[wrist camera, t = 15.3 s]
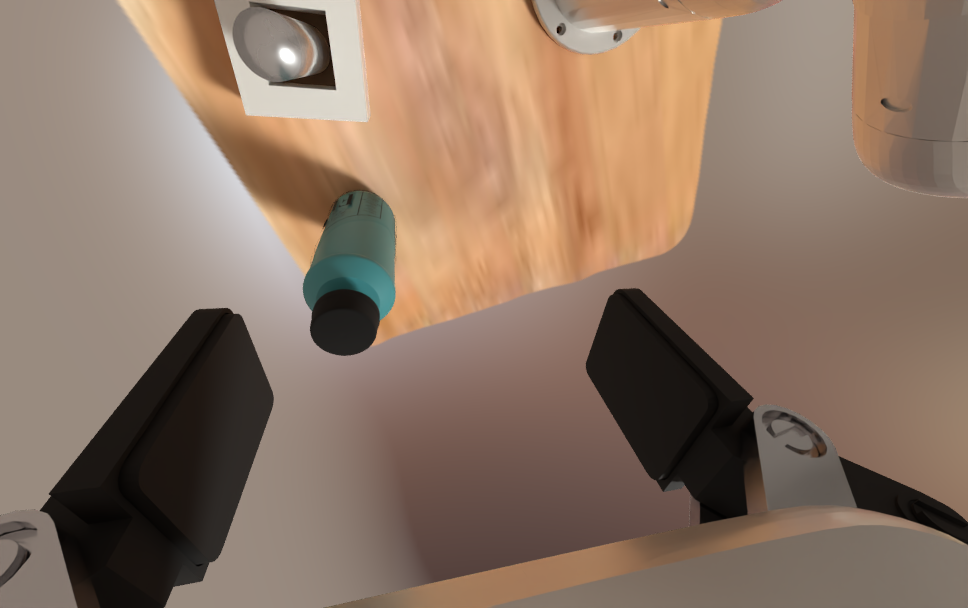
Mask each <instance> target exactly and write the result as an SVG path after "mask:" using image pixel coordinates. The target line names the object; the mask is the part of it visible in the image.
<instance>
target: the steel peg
mask: <svg viewBox="0 0 968 608" xmlns="http://www.w3.org/2000/svg"><path fill="white" fill-rule="evenodd" d="M232 34H233V41H234V45H235V48H236V50H237V52H238V54H239V56H240V58H241V59H242V61H243V62H244V63H245V65H246V66H247V67H248V68H249V69H250V70H251V71H252V72H254V73H255V74H256V75H258V76H259V77H261V78H263V79H266V80H268V81H272V82H284V81H288V80H293V79H297V78H301V77H306V76H310V75H315V74H319V73H321V72H323V71H324V70H325V69H326V68H327V67H328V65H329V62H330V49H329V45H328V43H327V41H326V39H325V37H324V36H323V35H322V33H321V32H320V31H319V30H318V29H316V28H315V27H314V26H312V25H310V24H307V23H304V22H302V21H299V20H296V19H293V18H290V17H288V16H285V15H282V14H279V13H277V12H274V11H271V10H268V9H265V8H261V7H250V8H247V9H245V10H243V11H241V12H240V13H239V14H238V16H237V17H236V19H235V21H234V24H233V32H232Z"/></svg>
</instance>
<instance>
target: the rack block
mask: <svg viewBox="0 0 968 608" xmlns="http://www.w3.org/2000/svg"><path fill="white" fill-rule="evenodd" d="M214 2H215V5H216V9H217V12H218V16H219V20H220V23H221V27H222V30H223V34H224V38H225V41H226V45H227V48H228V52H229V55H230V59H231V63H232V66H233V70H234V73H235V77H236V81H237V84H238V88H239V91H240V95H241V99H242V102H243V106H244V109H245V113H246V115H252V116H269V117H287V118H304V119H322V120H339V121H357V122H368V120H369V118H370V116H371V115H370V104H369V94H368V83H367V73H366V63H365V52H364V42H363V31H362V21H361V11H360V0H214ZM250 7H261V8H265V9H267V8H271V9H280V10H288V11H297V12H305V13H314V14H322V15H326V19H327V26H328V33H329V41H330V48H331V55H332V62H333V69H334V76H335V83H336V86H325V85H312V84H299V83H286V82H272V81H268V80H266V79H263V78H261V77H259V76H258V75H256V74H255V73H254V72H252V71H251V70H250V69H249V68H248V67H247V66H246V65H245V63H244V62H243V61H242V59H241V58H240V56H239V54H238V52H237V50H236V48H235V45H234V41H233V34H232V32H233V24H234V21H235V19H236V17H237V16H238V14H239V13H240V12H241V11H243V10H245V9H247V8H250Z"/></svg>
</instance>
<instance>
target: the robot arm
mask: <svg viewBox="0 0 968 608" xmlns="http://www.w3.org/2000/svg"><path fill="white" fill-rule="evenodd" d="M781 1H783V0H532V4H533V7H534V11H535V13H536V15H537V17H538V19H539V21H540V24H541V25H542V27H543V28H544V30H545V31H546V32H547V34H548V35H549V37H550V38H552V39H553V40H554V41H555V42H556V43H557V44H558V45H559V46H561V47H563V48H565V49H567V50H568V51H570V52H574V53H579V54H598V53H604V52H607V51H609V50H612V49H615V48H617V47H618V46H620V45H621V44H623V43H625V42H626V41H628V40H629V39H630V38H631V37H632V36H633V35H634V34H635V33H636V32H638V31H639V30H640V28H642V27H651V26H659V25H668V24H677V23H685V22H694V21H702V20H711V19H719V18H725V17H732V16H740V15H745V14H749V13H753V12H757V11H760V10H762V9H765V8H768V7H770V6H773V5H775V4H777V3H779V2H781ZM852 1H853V4H854V31H853V32H854V33H853V67H852V68H853V69H852V128H853V140H854V144H855V148H856V151H857V153H858V156H859V158H860V160H861V161H862V163H863V165H864V166H865V167H866V168H867V169H868V170H869V171H870V172H871V173H872V174H873V175H874V176H876V177H877V178H879V179H880V180H882V181H884V182H886V183H888V184H891V185H893V186H895V187H897V188H901V189H904V190H907V191H911V192H917V193H921V194H926V195H932V196H942V197H954V198H968V0H852ZM558 26H559V28H560V31H559V33H557V27H558ZM614 34H615V38H614V40H613V35H614ZM586 370H587V373H588V375H589V377H590V379H591V380H592V382H593V383H594V385H595V387H596V389H597V390H598V392H599V394H600V395H601V397H602V399H603V400H604V402H605V404H606V405H607V407H608V409H609V410H610V412H611V414H612V415H613V417H614V419H615V420H616V422H617V424H618V425H619V427H620V429H621V430H622V432H623V433H624V435H625V437H626V439H627V440H628V442H629V444H630V445H631V447H632V449H633V450H634V452H635V453H636V455H637V457H638V459H639V460H640V462H641V463H642V465H643V467H644V469H645V470H646V472H647V473H648V475H649V476H650V477H651V478H652V479H654V480H656V481H657V482H658V484H659V486H660V487H661V489H662V491H663V492H665V491H671V490H675V489H681V488H682V487H683V486H684V485H685V486H686V487H687V489H688V490H689V492H690V520H689V527H685V528H681V529H676V530H671V531H667V532H662V533H658V534H653V535H648V536H644V537H639V538H635V539H630V540H626V541H621V542H616V543H611V544H607V545H602V546H598V547H593V548H589V549H584V550H580V551H575V552H571V553H566V554H561V555H558V556H553V557H548V558H544V559H539V560H534V561H530V562H525V563H521V564H517V565H512V566H507V567H503V568H499V569H494V570H489V571H485V572H481V573H476V574H471V575H467V576H463V577H458V578H454V579H449V580H444V581H440V582H435V583H431V584H426V585H422V586H418V587H414V588H409V589H405V590H400V591H396V592H392V593H387V594H382V595H378V596H374V597H369V598H365V599H360V600H356V601H351V602H347V603H343V604H339V605H334V606H329V607H325V608H968V522H967V521H966V520H965V519H964V518H963V517H962V516H960V515H959V514H958V513H957V512H955V511H954V510H953V509H951V508H950V507H948V506H946V505H945V504H943V503H941V502H939V501H937V500H935V499H933V498H931V497H929V496H927V495H925V494H923V493H921V492H919V491H917V490H915V489H912V488H910V487H908V486H905V485H903V484H901V483H899V482H896V481H894V480H892V479H890V478H887V477H885V476H883V475H880V474H878V473H876V472H873V471H871V470H869V469H867V468H864V467H862V466H860V465H858V464H855V463H853V462H851V461H848V460H846V459H844V458H841V457H839V456H838V454H837V451H836V448H835V447H834V445H833V443H832V441H831V440H830V438H829V437H828V436H827V435H826V434H825V433H824V432H823V431H822V430H821V429H820V428H819V427H817V426H816V425H815V424H814V423H813V422H811V421H810V420H808V419H806V418H805V417H803V416H801V415H800V414H798V413H796V412H794V411H791V410H789V409H787V408H783V407H780V406H776V405H763V406H759V407H758V408H757V409H755V411H754V412H751V411H750V409H748V407H747V406H748V405H749V404H750V402H751V401H752V400H753V397H752V396H751V395H750V394H749V393H747V391H746V390H745V389H743V388H742V387H741V386H740V385H739V384H738V383H737V382H736V381H735V380H734V379H733V378H732V377H731V376H730V375H729V374H728V373H727V372H726V371H725V370H724V369H723V368H722V367H721V366H720V365H718V364H717V363H716V362H715V361H714V360H713V359H712V358H711V357H710V356H709V355H708V354H707V353H706V352H705V351H704V350H703V349H702V348H701V347H700V346H699V345H698V344H696V343H695V342H694V341H693V340H692V339H691V338H690V337H689V336H688V335H687V334H686V333H685V332H684V331H683V330H682V329H681V328H680V327H679V326H678V325H676V323H675V322H674V321H673V320H671V319H670V318H669V317H668V316H667V315H666V314H665V313H664V312H663V311H662V310H661V309H660V308H659V307H658V306H657V305H656V304H655V303H654V302H653V301H651V299H649V298H648V297H647V296H646V295H645V294H644V293H643V292H642V291H641V290H640V289H635V288H633V289H618V290H616V291H615V292H614V294H613V295H611V296H610V297H609V298H608V301H607V304H606V307H605V309H604V312H603V315H602V318H601V321H600V324H599V327H598V330H597V333H596V336H595V339H594V341H593V344H592V347H591V350H590V353H589V356H588V359H587V362H586ZM273 400H274V397H273V392H272V390H271V387H270V384H269V382H268V379H267V377H266V375H265V372H264V370H263V367H262V365H261V362H260V360H259V358H258V355H257V352H256V350H255V347H254V345H253V343H252V340H251V338H250V335H249V333H248V330H247V328H246V325H245V323H244V320H243V318H242V316H241V315H239V314H233V312H232V311H231V310H230V309H228V308H219V309H217V308H216V309H199V310H196V311H194V312H193V313H192V314H191V316H190V317H189V318H188V320H187V321H186V322H185V323H184V324H183V326H182V327H181V328H180V329H179V331H178V332H177V333H176V335H175V336H174V337H173V338H172V339H171V341H170V342H169V343H168V345H167V346H166V347H165V348H164V350H163V351H162V352H161V353H160V355H159V356H158V357H157V358H156V360H155V361H154V362H153V363H152V365H151V366H150V367H149V368H148V370H147V371H146V372H145V373H144V375H143V376H142V377H141V378H140V380H139V381H138V382H137V384H136V385H135V386H134V387H133V389H132V390H131V391H130V392H129V394H128V395H127V396H126V397H125V399H124V400H123V401H122V402H121V404H120V405H119V406H118V407H117V409H116V410H115V411H114V412H113V414H112V415H111V416H110V417H109V419H108V420H107V421H106V422H105V424H104V425H103V426H102V428H101V429H100V430H99V431H98V433H97V434H96V435H95V436H94V438H93V439H92V440H91V441H90V443H89V444H88V445H87V446H86V448H85V449H84V450H83V451H82V453H81V454H80V455H79V456H78V458H77V459H76V460H75V461H74V463H73V464H72V465H71V466H70V468H69V469H68V470H67V472H66V473H65V474H64V475H63V477H62V478H61V479H60V480H59V482H58V483H57V484H56V485H55V487H54V488H53V489H52V490H51V492H50V493H49V495H51V497H50V498H49V499H48V501H47V502H46V503H45V505H44V506H43V507H42V508H41V510H40V511H38V510H21V511H14V512H10V513H7V514H3V515H0V608H164V607H165V605H166V602H167V600H168V598H169V596H170V593H171V591H172V589H173V587H175V586H180V585H185V584H190V583H195V582H200V581H203V578H204V575H205V573H206V570H207V567H208V565H209V562H213V561H215V560H216V559H217V558H218V556H219V555H220V553H221V551H222V548H223V546H224V543H225V540H226V537H227V534H228V532H229V529H230V526H231V523H232V520H233V517H234V515H235V512H236V509H237V506H238V503H239V500H240V498H241V495H242V492H243V489H244V486H245V484H246V481H247V478H248V475H249V472H250V469H251V467H252V464H253V461H254V458H255V455H256V452H257V450H258V447H259V444H260V441H261V438H262V436H263V433H264V430H265V427H266V424H267V421H268V418H269V416H270V413H271V410H272V407H273Z"/></svg>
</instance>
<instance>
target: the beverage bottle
mask: <svg viewBox="0 0 968 608" xmlns="http://www.w3.org/2000/svg"><path fill="white" fill-rule="evenodd" d="M333 203H334V202H333ZM332 206H333V205H332ZM332 206H331V207H332ZM329 213H330V212H329ZM329 213H328V214H329ZM328 216H329V215H328ZM395 218H396V217H395ZM324 226H325V229H324V231H323V234H322V236H321V239H320V241H319V244H318V247H317V249H316V252H315V255H314V259H313V262H312V264H311V267H310V269H309V271H308V272H307V274H306V276H305V279H304V283H303V293H304V298H305V301H306V303H307V305H308V306H309V308H310V309H311V310H312V320H311V326H310V332H311V336H312V339H313V341H314V342H315V343H316V344H317V346H319V347H320V348H321V349H323V350H324V351H326V352H329V353H332V354H335V355H341V356H346V355H354V354H358V353H360V352H363V351H364V350H366V349H367V348H369V347H370V346H371V345H372V343H373V342H374V340H375V338H376V334H377V329H378V326H379V322H380V320H381V319H383V318H384V317H385V316H386V315H387V314H388V313H389V311H390V310H391V308H392V307H393V304H394V301H395V274H394V259H395V251H396V246H397V244H396V241H395V240H397V238H396V239H395V226H396V225H395V219H394V215H393V212H392V210H391V208H390V207H389V205H388V204H387V203H386V202H385V201H384V200H383V199H382V198H380V196H377V195H375V194H373V193H372V192H371V193H370V192H368V191H367V192H366V191H363V190H360V191H357V190H354V191H353V192H350V191H349V193H347V192H346V194H344V195H342V196H340V197H339V199H338V200H337V201H336V202H335V204H334V206H333V208H332V211H331V213H330V216H329V219H327V220H326V222H325V224H324ZM323 228H324V227H323ZM323 228H322V230H323ZM396 237H397V234H396ZM317 242H318V241H317ZM315 246H316V245H315ZM312 254H313V253H312ZM311 258H312V257H311ZM395 262H396V261H395Z"/></svg>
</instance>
